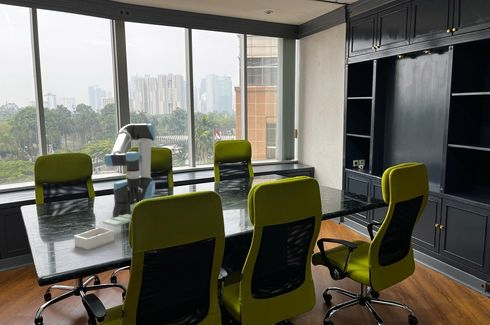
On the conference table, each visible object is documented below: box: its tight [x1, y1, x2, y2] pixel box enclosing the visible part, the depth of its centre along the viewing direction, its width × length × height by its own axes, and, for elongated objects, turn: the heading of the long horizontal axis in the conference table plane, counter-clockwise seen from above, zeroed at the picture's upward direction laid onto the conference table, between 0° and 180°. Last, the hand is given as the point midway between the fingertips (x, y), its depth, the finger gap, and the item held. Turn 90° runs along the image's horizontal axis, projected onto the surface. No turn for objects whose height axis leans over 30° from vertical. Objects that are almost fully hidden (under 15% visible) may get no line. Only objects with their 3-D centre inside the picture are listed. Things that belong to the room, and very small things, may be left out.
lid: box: [102, 202, 136, 227], centre depth 217 cm, size 12×21×8 cm, turn 146°
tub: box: [73, 226, 115, 252], centre depth 196 cm, size 11×16×6 cm
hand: (136, 215), depth 225 cm, fingers closed on lid, 4 cm apart
